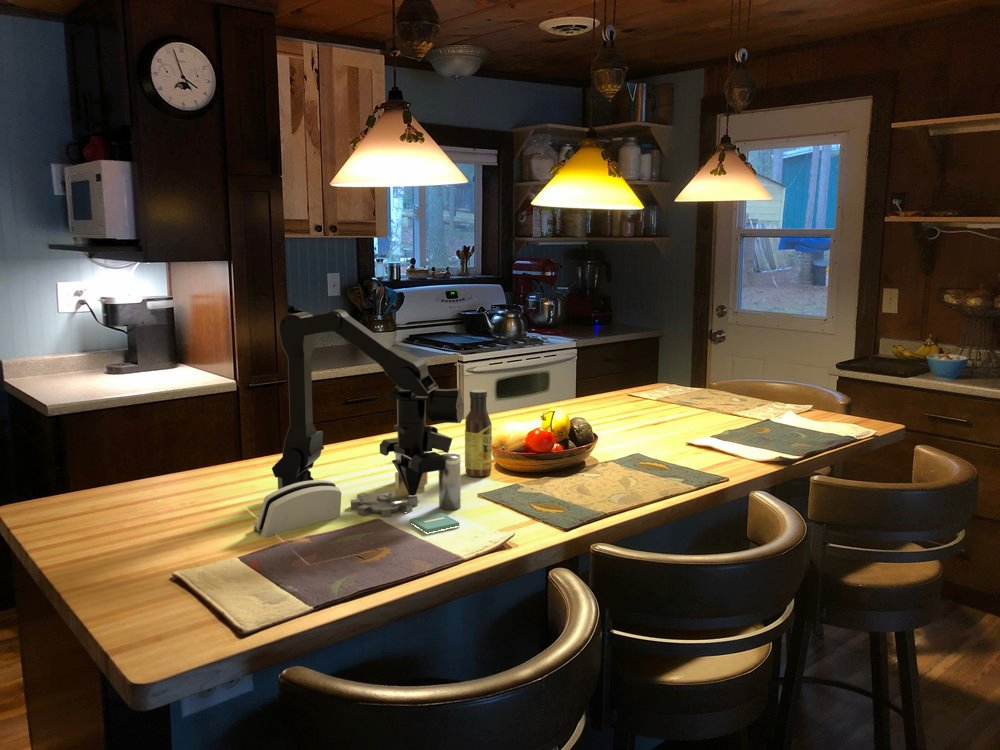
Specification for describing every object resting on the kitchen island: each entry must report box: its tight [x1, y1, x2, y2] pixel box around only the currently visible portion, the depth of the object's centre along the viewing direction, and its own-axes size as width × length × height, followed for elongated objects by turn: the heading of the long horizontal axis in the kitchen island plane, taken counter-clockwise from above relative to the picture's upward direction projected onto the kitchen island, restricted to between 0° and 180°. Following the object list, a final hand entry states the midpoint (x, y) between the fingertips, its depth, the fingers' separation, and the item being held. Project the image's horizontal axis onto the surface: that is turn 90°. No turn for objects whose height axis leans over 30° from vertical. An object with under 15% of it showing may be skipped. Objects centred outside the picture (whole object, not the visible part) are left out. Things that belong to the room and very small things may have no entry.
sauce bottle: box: [464, 389, 493, 478], centre depth 196 cm, size 7×6×20 cm
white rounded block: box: [253, 479, 342, 538], centre depth 162 cm, size 17×5×10 cm, turn 133°
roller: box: [438, 453, 462, 512], centre depth 172 cm, size 4×4×11 cm
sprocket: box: [350, 471, 426, 518], centre depth 174 cm, size 16×13×6 cm
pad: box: [409, 512, 460, 533], centre depth 162 cm, size 7×7×1 cm
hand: (412, 495), depth 172 cm, fingers closed
